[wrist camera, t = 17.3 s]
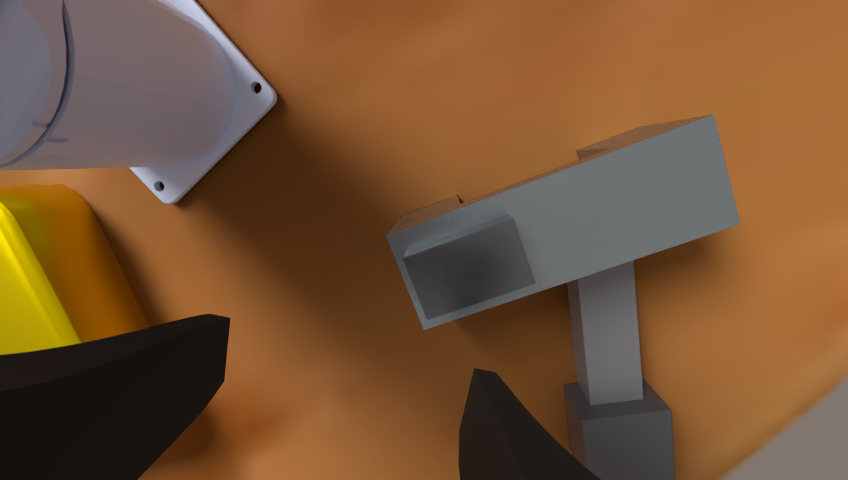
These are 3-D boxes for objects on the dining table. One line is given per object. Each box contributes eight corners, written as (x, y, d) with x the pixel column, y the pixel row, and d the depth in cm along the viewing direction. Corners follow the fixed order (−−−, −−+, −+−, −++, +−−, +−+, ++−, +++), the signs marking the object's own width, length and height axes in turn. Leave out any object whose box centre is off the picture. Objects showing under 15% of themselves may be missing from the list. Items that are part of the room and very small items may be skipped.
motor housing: (400, 216, 20) (380, 242, 14) (639, 126, 18) (739, 109, 12) (429, 288, 21) (422, 344, 14) (661, 207, 19) (767, 230, 13)
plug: (548, 259, 20) (566, 276, 17) (630, 247, 20) (662, 262, 17) (572, 464, 22) (591, 510, 19) (645, 456, 22) (676, 502, 19)
